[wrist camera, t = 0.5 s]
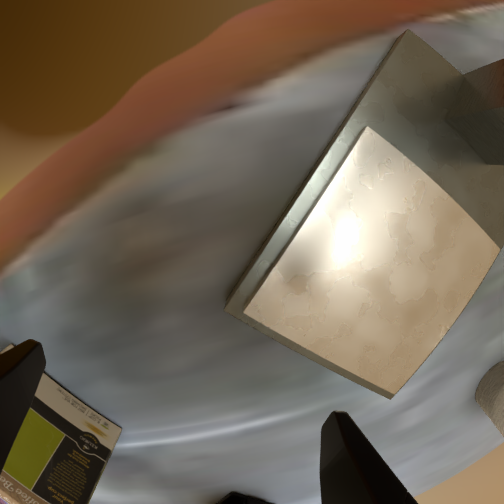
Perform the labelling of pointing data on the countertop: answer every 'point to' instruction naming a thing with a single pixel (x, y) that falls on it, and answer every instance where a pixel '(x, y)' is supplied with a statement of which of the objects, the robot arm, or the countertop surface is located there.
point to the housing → (493, 395)
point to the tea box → (57, 450)
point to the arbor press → (388, 223)
